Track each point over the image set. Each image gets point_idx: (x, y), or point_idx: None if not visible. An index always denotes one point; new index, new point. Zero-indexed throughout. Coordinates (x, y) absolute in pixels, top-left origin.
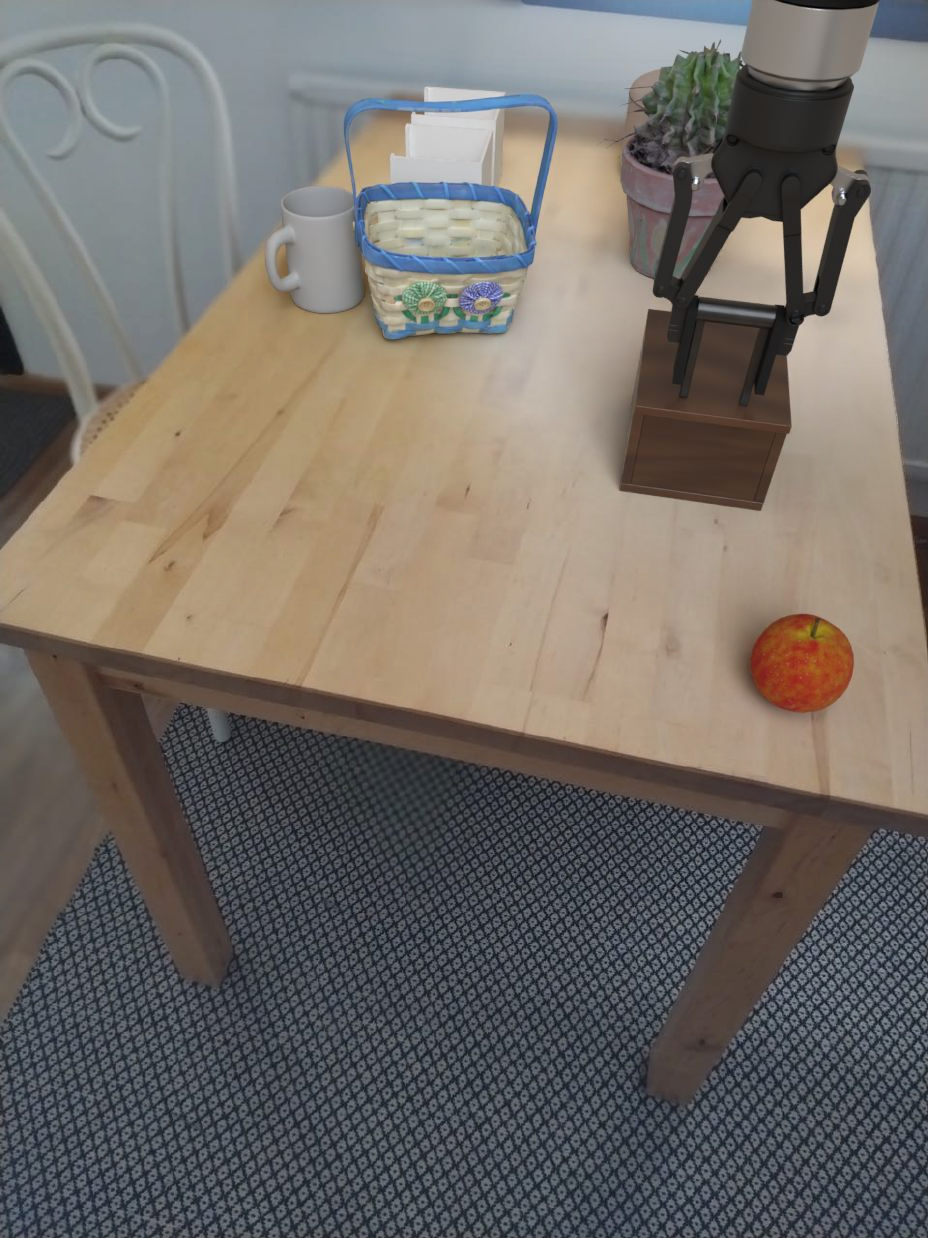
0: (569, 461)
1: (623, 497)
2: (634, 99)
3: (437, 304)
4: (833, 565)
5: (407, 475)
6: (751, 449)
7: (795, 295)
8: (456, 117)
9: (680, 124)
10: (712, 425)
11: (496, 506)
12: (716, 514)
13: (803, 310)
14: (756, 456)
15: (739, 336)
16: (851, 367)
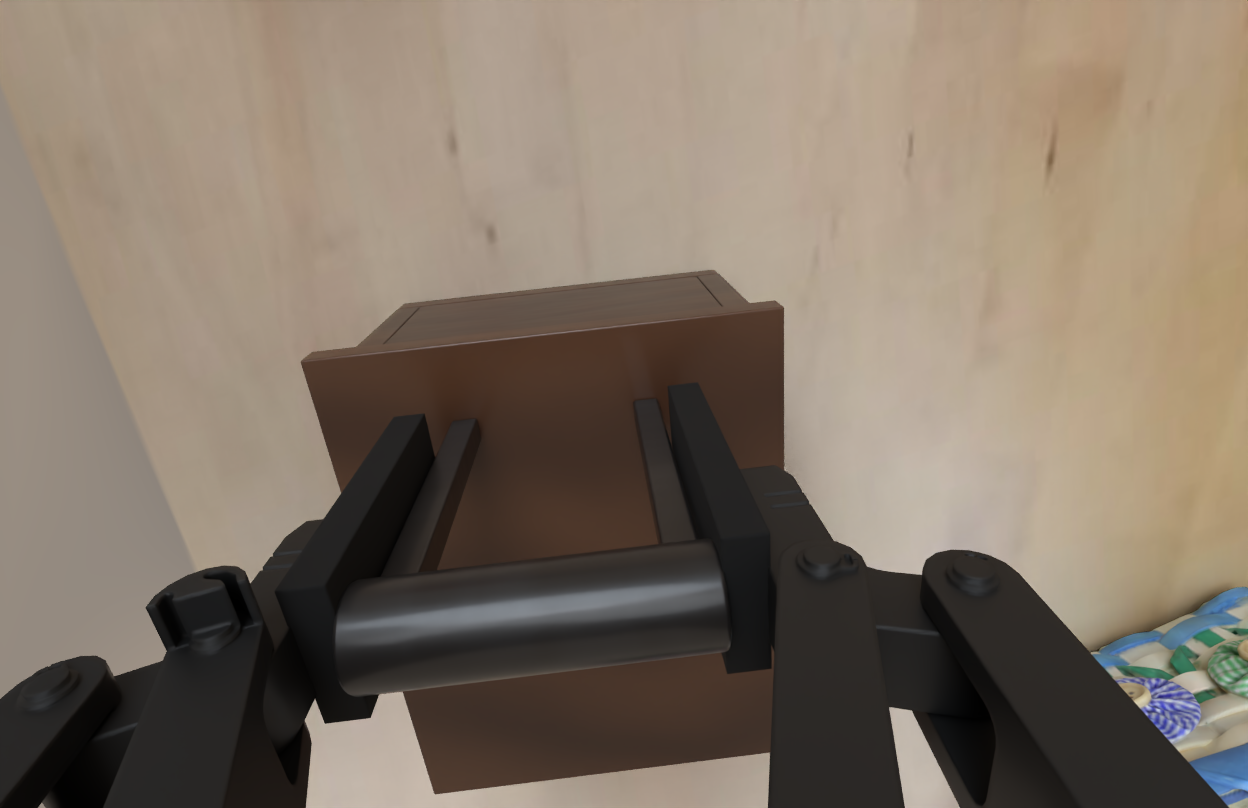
0: (832, 334)
1: (702, 250)
2: None
3: (1231, 663)
4: (205, 166)
5: (1190, 163)
6: None
7: (185, 721)
8: None
9: None
10: None
11: (982, 118)
12: (494, 260)
13: (165, 661)
14: (413, 338)
15: (537, 716)
16: (334, 786)
